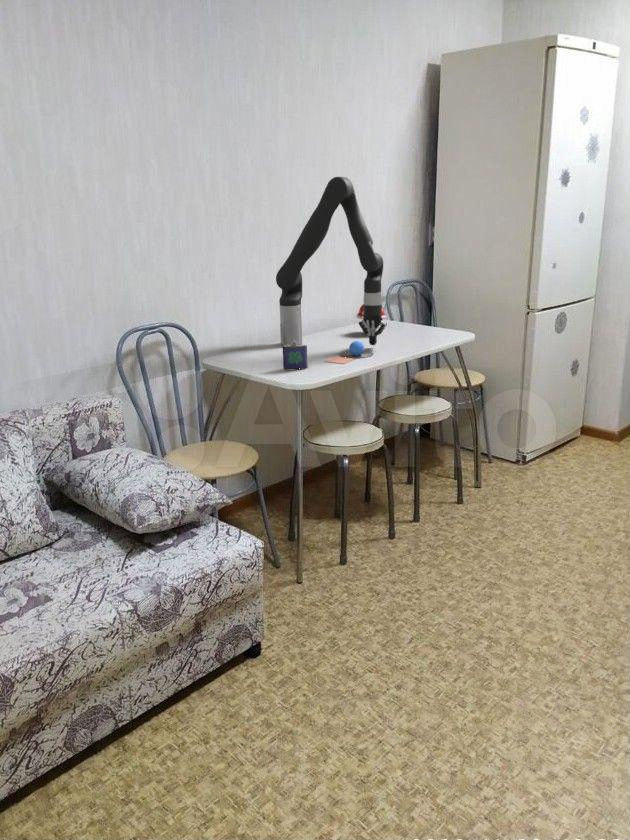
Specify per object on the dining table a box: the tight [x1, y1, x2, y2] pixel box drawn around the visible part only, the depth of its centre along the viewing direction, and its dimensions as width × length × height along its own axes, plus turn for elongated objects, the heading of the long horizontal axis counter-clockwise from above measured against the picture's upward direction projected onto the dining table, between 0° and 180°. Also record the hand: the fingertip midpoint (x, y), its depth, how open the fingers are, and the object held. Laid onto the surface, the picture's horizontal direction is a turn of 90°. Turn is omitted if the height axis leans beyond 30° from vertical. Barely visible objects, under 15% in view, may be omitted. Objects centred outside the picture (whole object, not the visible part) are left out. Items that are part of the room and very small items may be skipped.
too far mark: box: [324, 356, 356, 365], centre depth 278 cm, size 9×9×1 cm
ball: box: [348, 340, 365, 356], centre depth 284 cm, size 6×6×6 cm
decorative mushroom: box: [355, 303, 387, 336], centre depth 324 cm, size 14×14×15 cm
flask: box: [282, 341, 309, 370], centre depth 266 cm, size 9×3×11 cm, turn 95°
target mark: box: [338, 349, 374, 359], centre depth 288 cm, size 14×14×1 cm
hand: (372, 344), depth 297 cm, fingers closed
